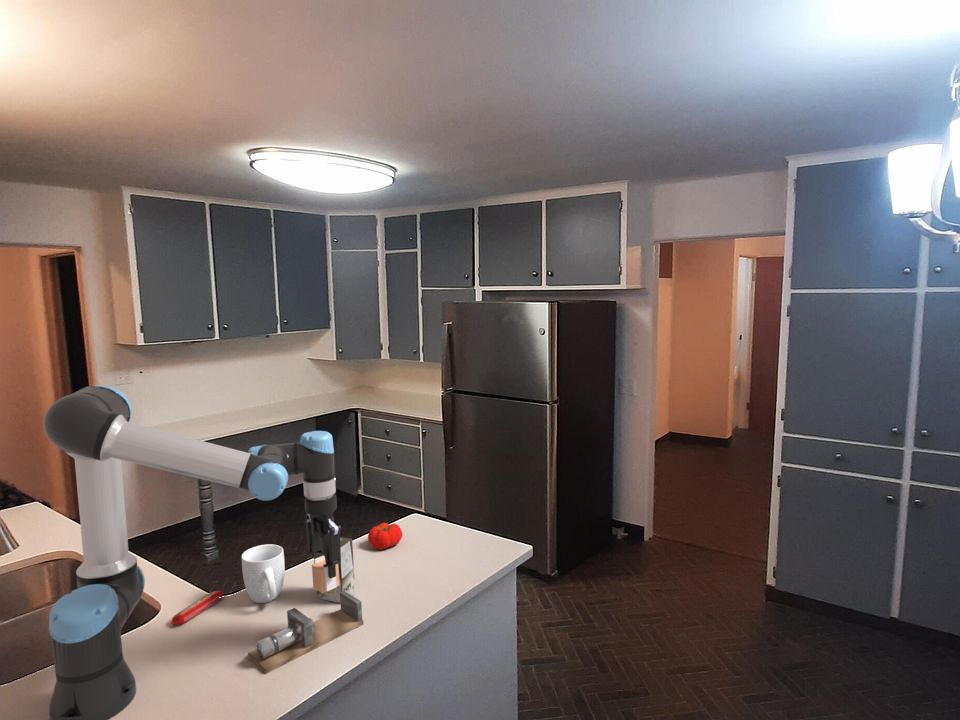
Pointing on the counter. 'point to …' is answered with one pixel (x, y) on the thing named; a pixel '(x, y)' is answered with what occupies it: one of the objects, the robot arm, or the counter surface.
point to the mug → (263, 572)
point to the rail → (324, 633)
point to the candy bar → (197, 607)
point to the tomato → (384, 535)
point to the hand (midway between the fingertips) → (325, 585)
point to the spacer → (321, 576)
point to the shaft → (280, 640)
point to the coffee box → (342, 573)
